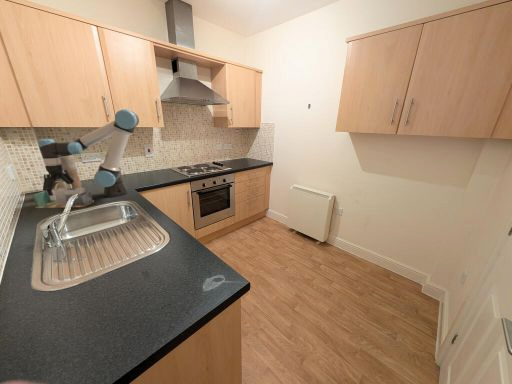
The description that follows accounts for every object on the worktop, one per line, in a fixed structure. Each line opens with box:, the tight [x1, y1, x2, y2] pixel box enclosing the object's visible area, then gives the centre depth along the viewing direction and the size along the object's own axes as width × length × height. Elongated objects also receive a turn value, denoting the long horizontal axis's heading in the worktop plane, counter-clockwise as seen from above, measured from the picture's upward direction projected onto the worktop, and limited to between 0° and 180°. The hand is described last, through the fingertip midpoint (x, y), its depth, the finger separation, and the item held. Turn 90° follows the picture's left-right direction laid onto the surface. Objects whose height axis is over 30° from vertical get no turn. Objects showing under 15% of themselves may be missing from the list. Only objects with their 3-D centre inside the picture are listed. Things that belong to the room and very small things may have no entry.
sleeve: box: [65, 191, 94, 206], centre depth 134 cm, size 10×8×7 cm
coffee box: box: [43, 176, 67, 190], centre depth 147 cm, size 9×6×16 cm
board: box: [34, 200, 95, 209], centre depth 134 cm, size 30×10×1 cm, turn 94°
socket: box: [32, 190, 54, 207], centre depth 132 cm, size 5×8×8 cm, turn 4°
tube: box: [54, 187, 87, 205], centre depth 133 cm, size 18×5×10 cm, turn 94°
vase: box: [59, 155, 83, 188], centre depth 163 cm, size 10×10×28 cm
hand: (62, 196), depth 132 cm, fingers open, 13 cm apart
